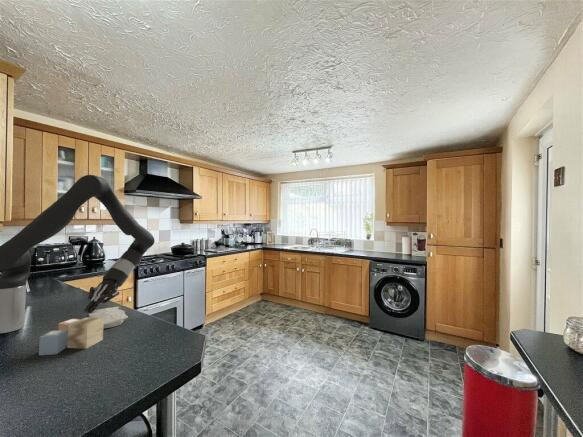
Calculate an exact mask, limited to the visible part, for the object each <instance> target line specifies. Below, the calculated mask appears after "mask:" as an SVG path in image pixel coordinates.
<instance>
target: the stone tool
mask: <svg viewBox="0 0 583 437" xmlns="http://www.w3.org/2000/svg"><path fill="white" fill-rule="evenodd" d="M125 312H126V311H125V310H123V309H120V306H113V307H106V308H99V309H95V310H94V311H93V312H92V313H91V314H90V313H88V318H104V323H103V329H109V328H114V327H118V326H120V325H123V323H124V322H125V321H126V320H127V319H128V318H129V316H128V315H127V314H126V313H125Z"/></svg>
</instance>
